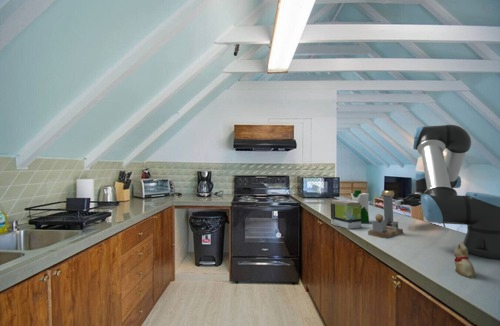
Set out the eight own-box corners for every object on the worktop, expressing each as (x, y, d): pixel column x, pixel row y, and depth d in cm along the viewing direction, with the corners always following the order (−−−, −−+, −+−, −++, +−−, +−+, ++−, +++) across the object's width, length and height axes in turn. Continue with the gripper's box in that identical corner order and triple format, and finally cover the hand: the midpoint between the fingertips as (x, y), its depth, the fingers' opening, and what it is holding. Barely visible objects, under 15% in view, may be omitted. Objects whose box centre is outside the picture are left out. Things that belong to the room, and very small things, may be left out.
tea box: (362, 227, 149) (361, 201, 150) (348, 229, 146) (347, 202, 146) (343, 222, 163) (342, 199, 164) (330, 224, 160) (329, 200, 160)
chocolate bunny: (477, 271, 85) (475, 240, 85) (474, 279, 79) (473, 246, 80) (455, 267, 89) (454, 237, 89) (451, 274, 83) (450, 242, 84)
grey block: (377, 230, 134) (376, 220, 135) (386, 231, 130) (386, 221, 130) (372, 231, 132) (372, 221, 132) (382, 233, 128) (382, 222, 128)
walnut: (384, 222, 129) (384, 215, 129) (376, 222, 130) (376, 214, 130) (382, 220, 133) (381, 213, 133) (374, 220, 133) (374, 213, 134)
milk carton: (350, 221, 165) (349, 190, 165) (359, 220, 169) (358, 189, 170) (362, 224, 157) (361, 191, 158) (371, 222, 162) (370, 190, 162)
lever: (385, 221, 139) (384, 190, 140) (395, 223, 135) (394, 190, 136) (382, 222, 138) (381, 190, 138) (392, 224, 134) (391, 191, 134)
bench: (385, 229, 143) (385, 218, 143) (402, 232, 136) (402, 221, 136) (368, 234, 133) (367, 222, 133) (385, 238, 126) (385, 225, 126)
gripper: (428, 206, 150) (409, 212, 136) (404, 204, 161) (384, 209, 147) (428, 193, 150) (408, 197, 136) (404, 192, 161) (384, 195, 147)
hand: (396, 203), depth 142 cm, fingers closed
